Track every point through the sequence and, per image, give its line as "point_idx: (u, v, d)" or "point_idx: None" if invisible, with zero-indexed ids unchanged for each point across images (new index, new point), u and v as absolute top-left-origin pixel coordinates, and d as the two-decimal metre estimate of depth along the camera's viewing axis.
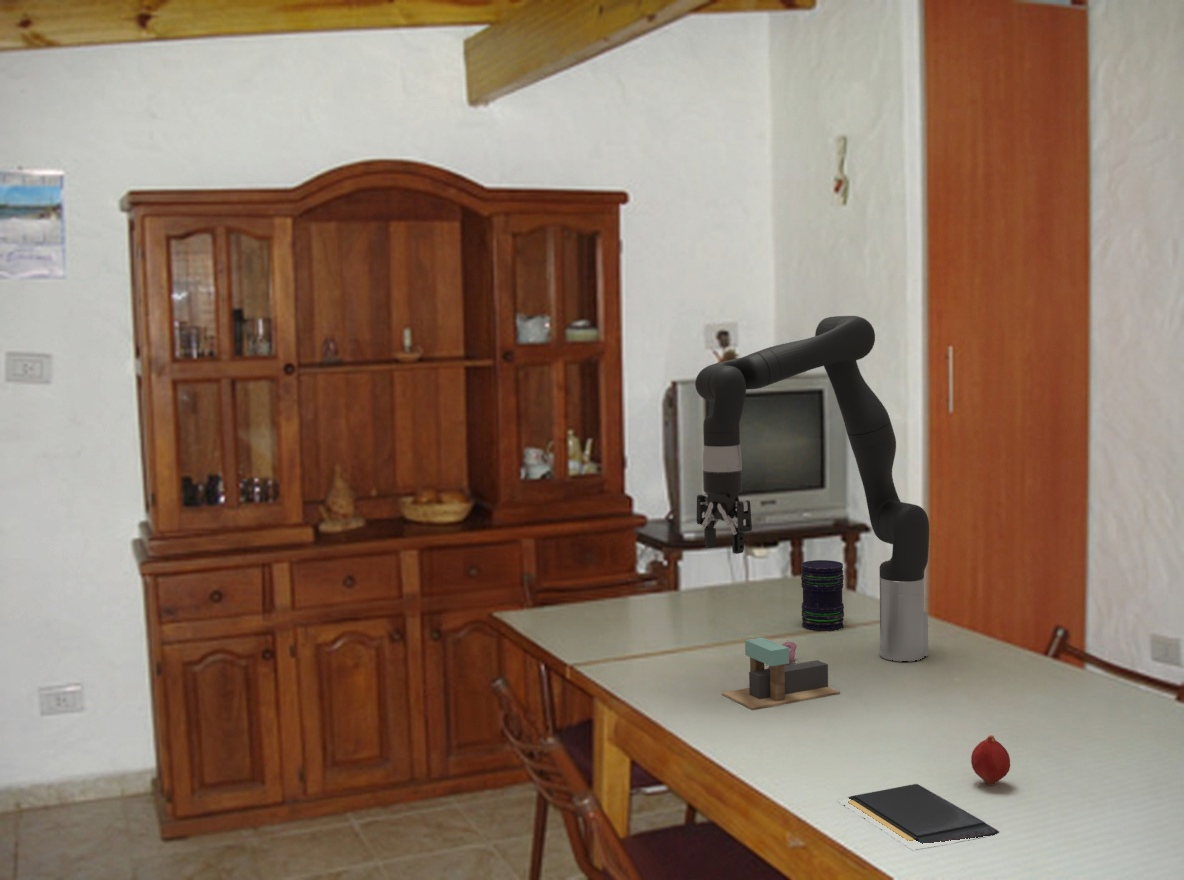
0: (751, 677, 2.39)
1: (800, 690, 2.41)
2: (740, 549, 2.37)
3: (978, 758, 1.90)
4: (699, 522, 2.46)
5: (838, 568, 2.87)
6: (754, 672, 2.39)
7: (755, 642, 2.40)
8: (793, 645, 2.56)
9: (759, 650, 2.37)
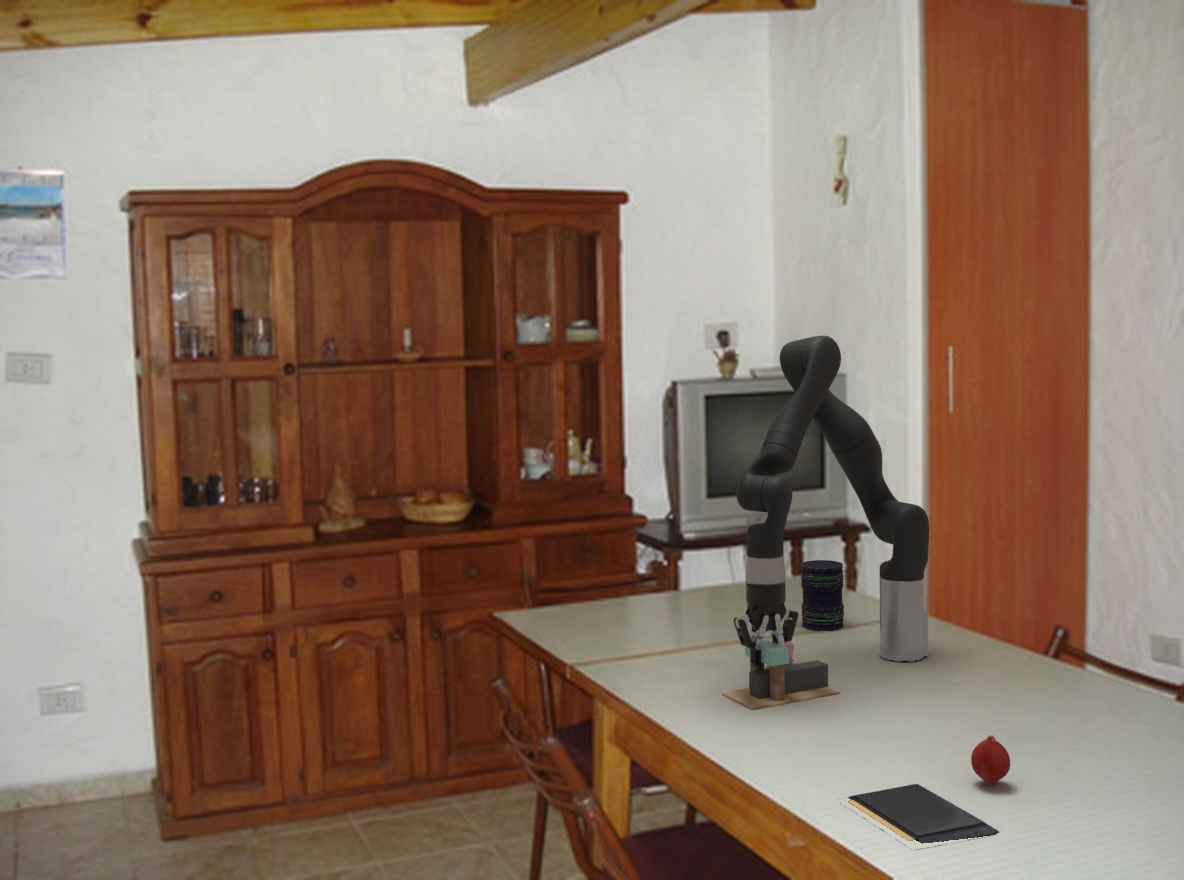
0: (751, 677, 2.39)
1: (800, 690, 2.41)
2: None
3: (978, 758, 1.90)
4: (751, 644, 2.36)
5: (838, 568, 2.87)
6: (754, 672, 2.39)
7: None
8: (791, 645, 2.56)
9: None
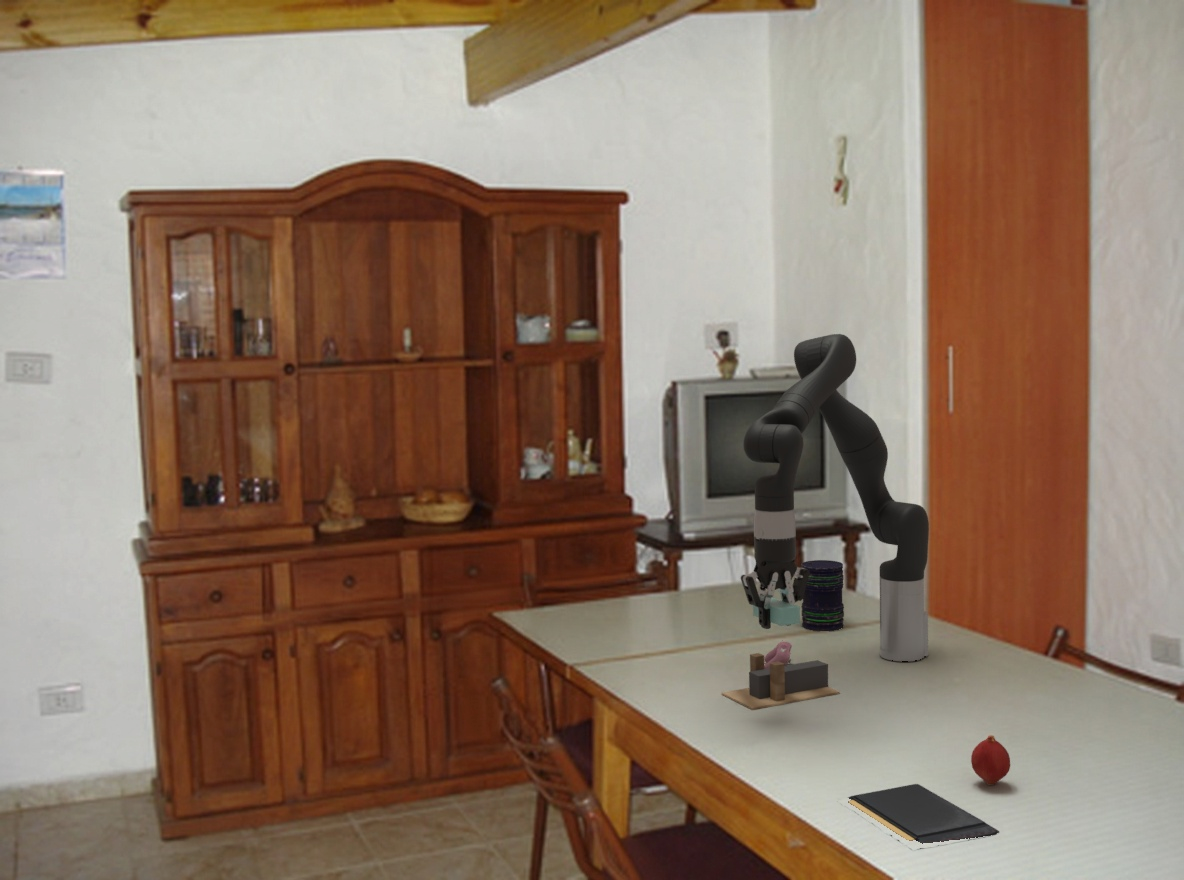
0: (751, 677, 2.39)
1: (800, 690, 2.41)
2: None
3: (978, 758, 1.90)
4: (760, 603, 2.23)
5: (838, 568, 2.87)
6: (754, 672, 2.39)
7: None
8: (788, 645, 2.56)
9: None
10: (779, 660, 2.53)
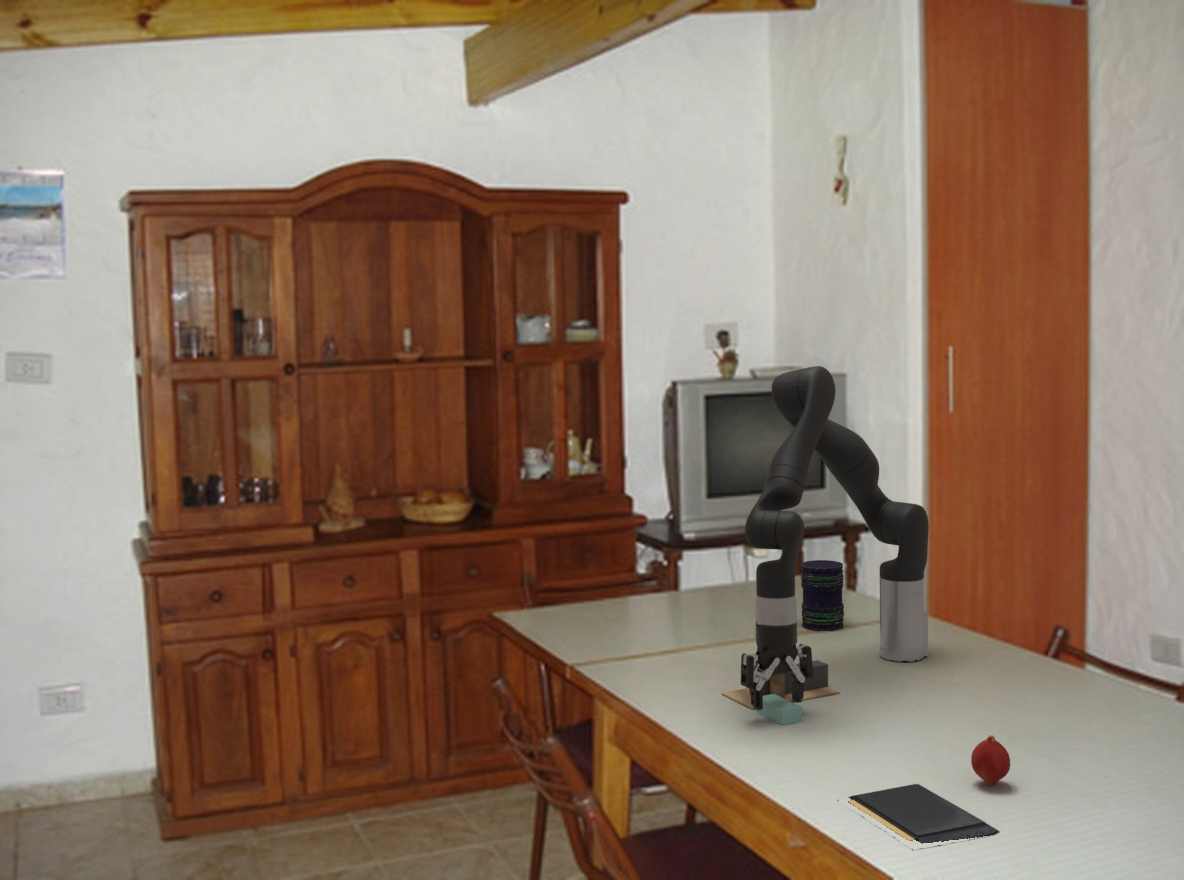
0: None
1: None
2: None
3: (978, 758, 1.90)
4: (752, 686, 2.23)
5: (838, 568, 2.87)
6: None
7: (766, 700, 2.29)
8: None
9: (771, 708, 2.26)
10: None
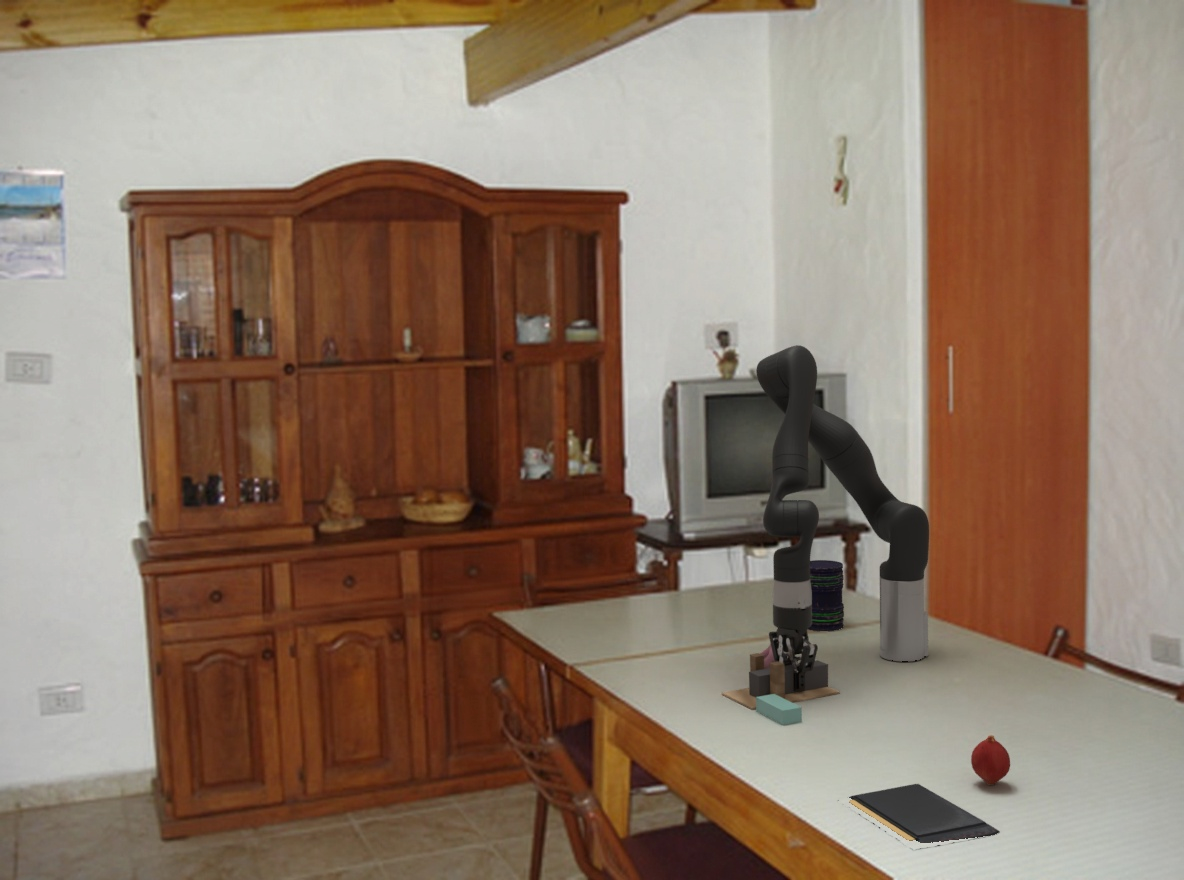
0: (751, 677, 2.39)
1: None
2: None
3: (978, 758, 1.90)
4: None
5: (838, 568, 2.87)
6: (754, 672, 2.39)
7: (766, 700, 2.29)
8: None
9: (771, 708, 2.26)
10: (772, 659, 2.53)
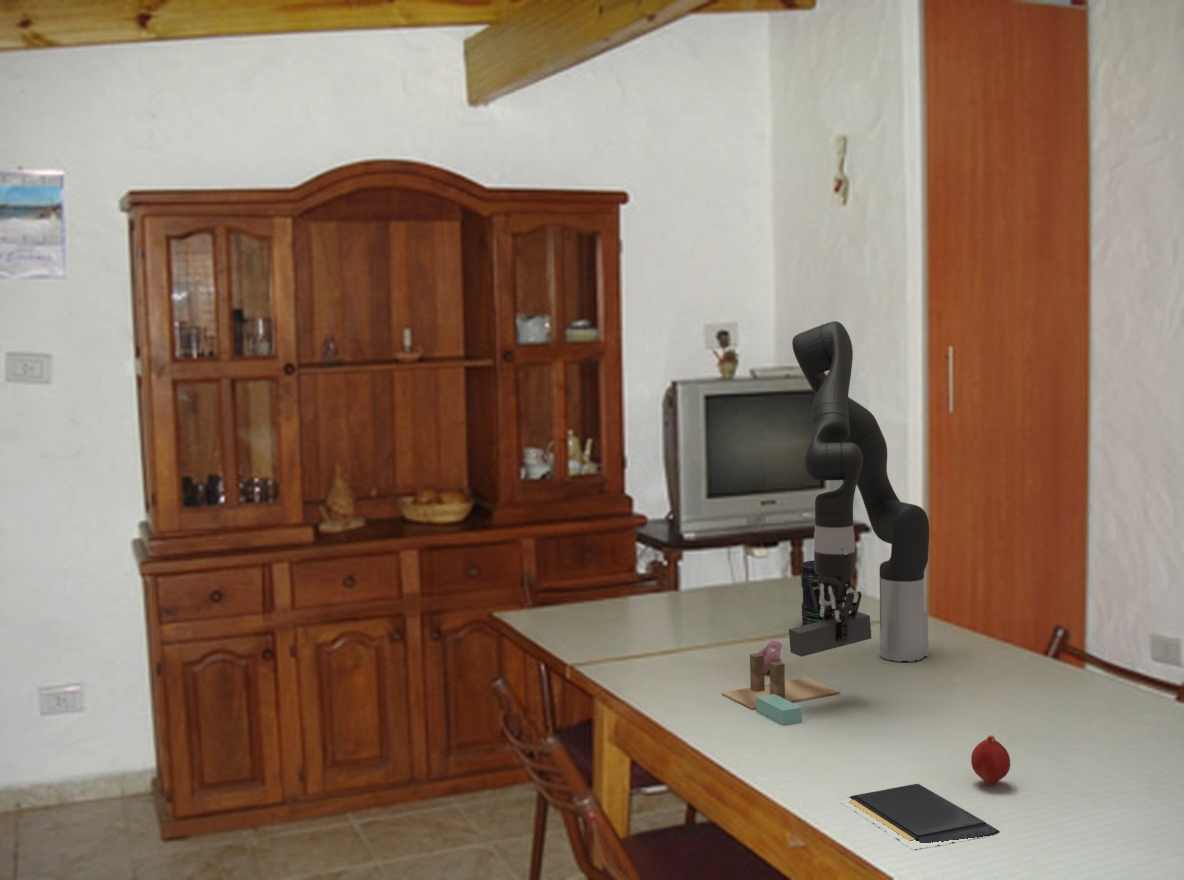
0: (791, 634, 2.30)
1: (843, 644, 2.32)
2: None
3: (978, 758, 1.90)
4: None
5: None
6: (794, 629, 2.30)
7: (766, 700, 2.29)
8: (778, 645, 2.56)
9: (771, 708, 2.26)
10: (769, 659, 2.53)
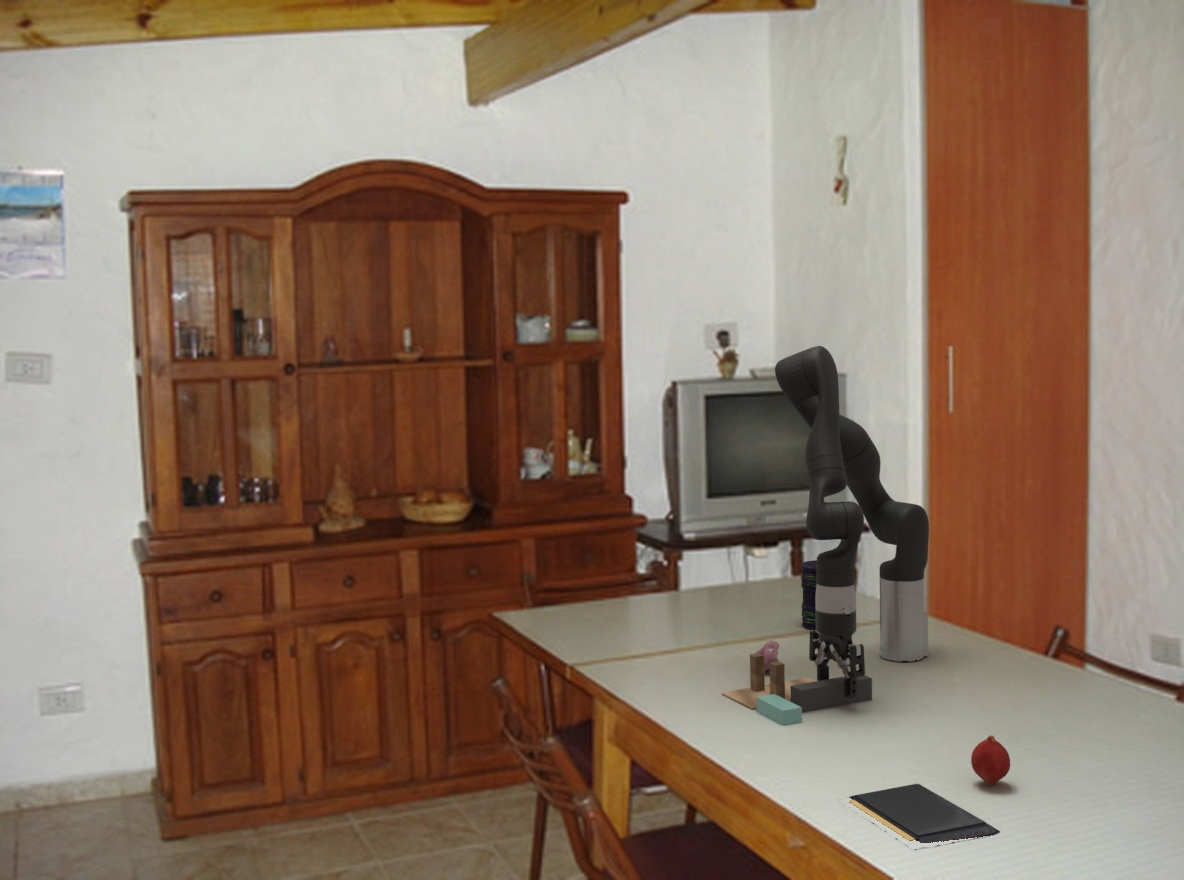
0: (793, 691, 2.31)
1: None
2: None
3: (978, 758, 1.90)
4: None
5: None
6: (796, 686, 2.31)
7: (766, 700, 2.29)
8: (776, 645, 2.57)
9: (771, 708, 2.26)
10: (767, 659, 2.53)
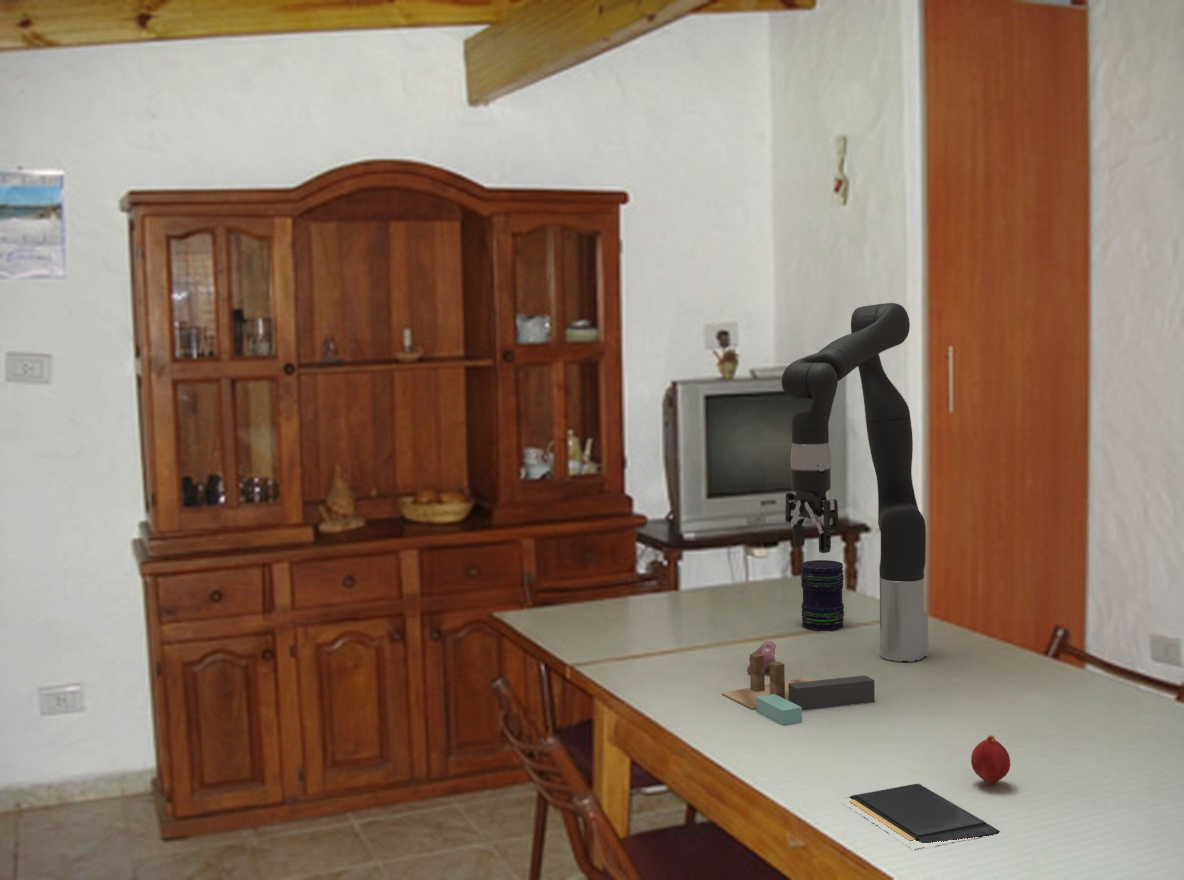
0: (790, 689, 2.33)
1: (842, 705, 2.33)
2: None
3: (978, 758, 1.90)
4: None
5: (838, 568, 2.87)
6: (793, 684, 2.33)
7: (766, 700, 2.29)
8: (773, 645, 2.57)
9: (771, 708, 2.26)
10: (764, 659, 2.53)
